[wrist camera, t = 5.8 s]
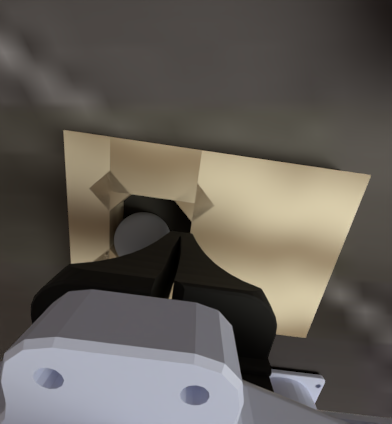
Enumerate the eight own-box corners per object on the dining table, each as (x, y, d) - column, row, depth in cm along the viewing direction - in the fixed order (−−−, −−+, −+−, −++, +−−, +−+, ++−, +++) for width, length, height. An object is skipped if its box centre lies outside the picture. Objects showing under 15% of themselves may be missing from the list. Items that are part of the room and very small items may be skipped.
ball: (170, 239, 16) (171, 277, 13) (124, 241, 15) (114, 281, 12) (170, 201, 14) (170, 236, 11) (115, 202, 13) (101, 239, 10)
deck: (291, 312, 17) (305, 337, 15) (91, 286, 16) (73, 308, 14) (341, 170, 13) (370, 175, 11) (87, 133, 13) (63, 129, 11)
